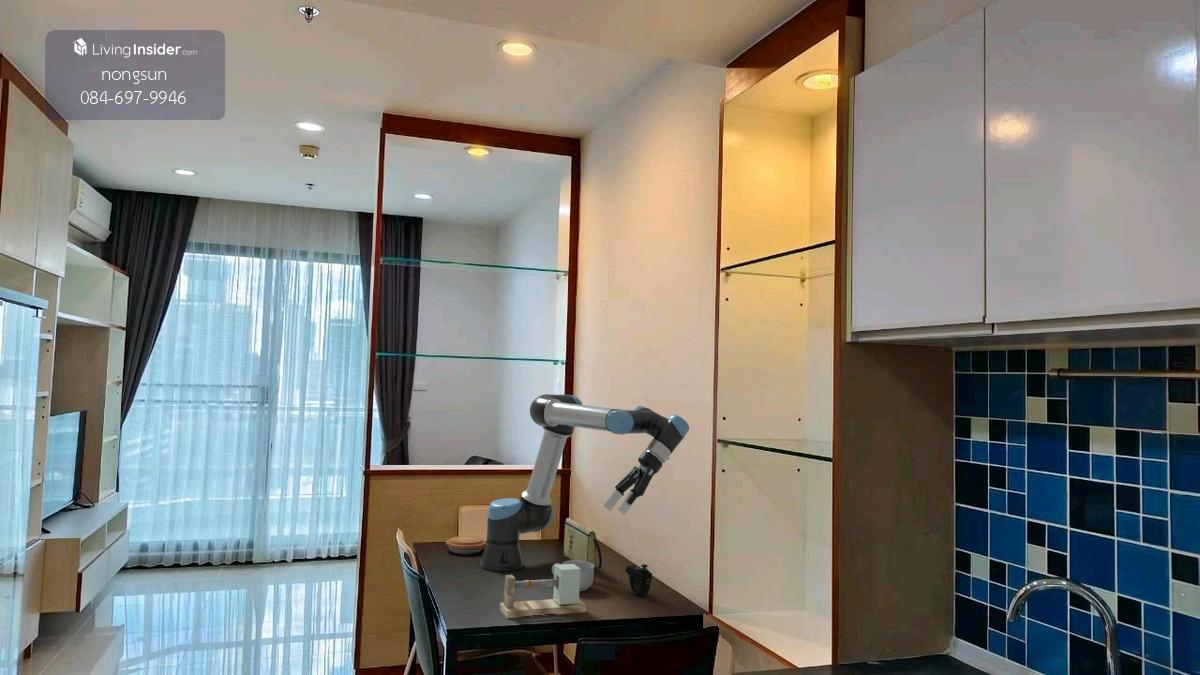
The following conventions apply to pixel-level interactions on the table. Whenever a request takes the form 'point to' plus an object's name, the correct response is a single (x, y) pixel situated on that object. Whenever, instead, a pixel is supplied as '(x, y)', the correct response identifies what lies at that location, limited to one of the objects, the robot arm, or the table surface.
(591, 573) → the teacup
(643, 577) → the controller
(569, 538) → the clutch purse
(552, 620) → the table surface
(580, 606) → the lead screw slider
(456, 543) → the pie
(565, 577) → the sleeve
